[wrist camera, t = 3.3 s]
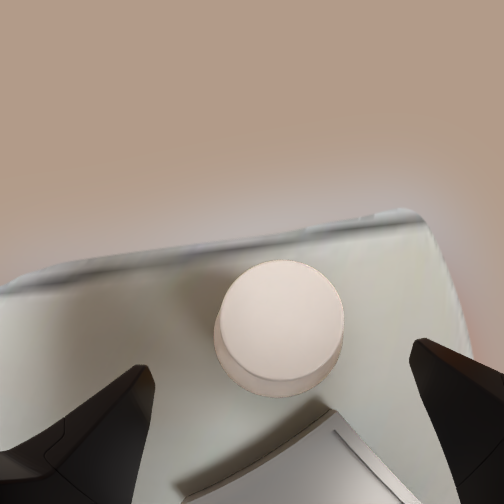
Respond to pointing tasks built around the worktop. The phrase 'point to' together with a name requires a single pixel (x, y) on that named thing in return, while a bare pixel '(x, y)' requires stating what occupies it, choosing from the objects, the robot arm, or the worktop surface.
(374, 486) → the charcoal tray
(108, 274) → the worktop surface
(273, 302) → the supplement bottle
